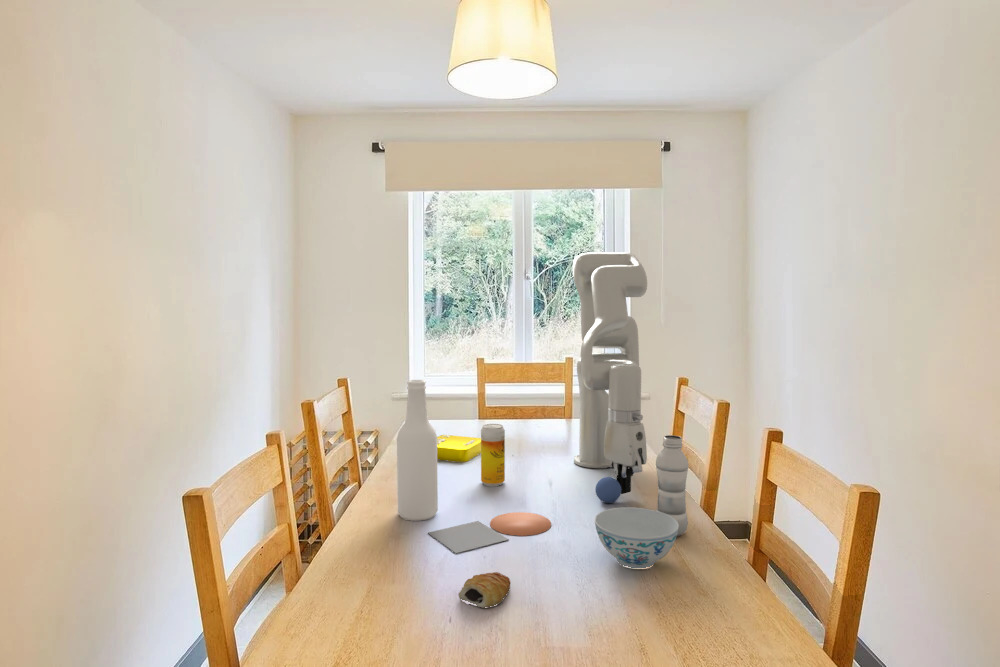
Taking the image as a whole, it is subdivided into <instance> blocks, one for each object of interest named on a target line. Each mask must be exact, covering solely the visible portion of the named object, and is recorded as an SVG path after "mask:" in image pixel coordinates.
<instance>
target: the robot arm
mask: <svg viewBox="0 0 1000 667" xmlns="http://www.w3.org/2000/svg"><path fill="white" fill-rule="evenodd" d="M572 263H573V264H572V275H573V280H574V281H573V282H574V285H575V286H576V290H577V293H578V296H579V299H580V328H581V330H580V331H581V333H580V334H581V340H582V344H581V348H580V356H579V358H578V360H577V362H576V374H577V380H578V389H579V390H578V391H579V438H578V439H579V450H578V451H579V452H578V454H577V455H575V456H574V458H573V462H574V464H575V465H577V466H580V467H584V468H588V469H608V468H607V467H610V468H612V469H613V473H614V475H615V476H616V480H617V481H618V482H619V484H620V486H621V495H624V494H628V493H631V491H632V488H631V487H632V485H631V484H632V477H633V476H634V474H637V473H643V465H646V464H647V461H648V458H647V457H648V454H647V451H648V450H647V438H646V437H647V436H646V431H645V425H644V423H643V422H641V421H643V418H644V416H643V415H642V414H641V413H642V412H641V410H642V369H641V367H640V351H639V350H640V348H639V346H640V345H639V329H638V325H637V322H636V320H635V319H634V318H633V317H632V316H630V315H629V314H628V305H627V298H641V297H643V296H644V295H645V294H646V293H647V289H648V276H647V274H646V270H645V268H644V266H643V265H642V263H641V262H640V260H639V258H638V257H637V256H636V255H635V254H633V253H631V252H608V251H607V252H605V251H603V252H597V251H596V252H593V251H592V252H584V253H581V254H579V255H577V256H576V257H575V258H574V259H573V262H572ZM593 349H619V350H620V353H619V352H615V353H614V352H613V353H611V352H598V353H597V352H593ZM607 392H608V393H607Z"/></svg>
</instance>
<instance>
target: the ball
mask: <svg viewBox="0 0 1000 667" xmlns="http://www.w3.org/2000/svg"><path fill="white" fill-rule="evenodd" d="M594 491H595V494H596V497H597V498H598V499H599V500H600V501H601V502H603V503H606V504H613V503H615V502H617V501H618V500H619V499H620V497H621V495H622V494H621V486H620V484H619V482H618V481H617V478H614V477H613V476H605V477H602V478H600V479H599V480H598V481H597V483H596V485H595V490H594Z"/></svg>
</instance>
